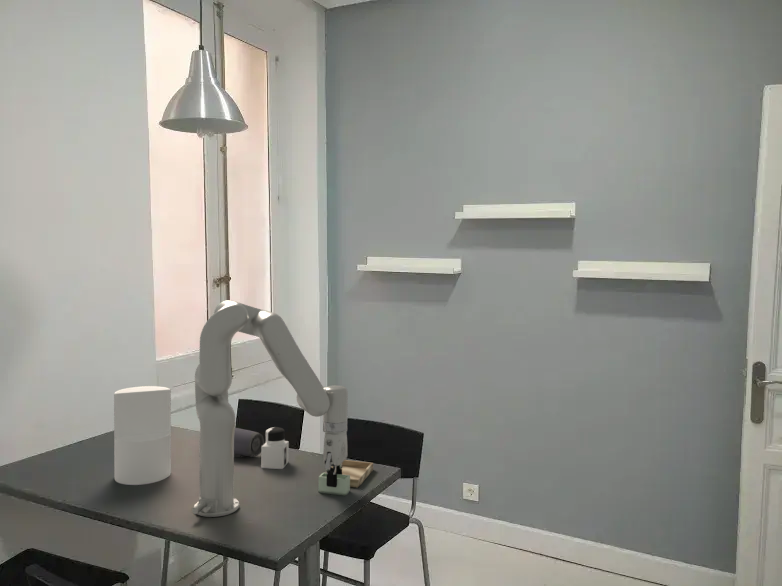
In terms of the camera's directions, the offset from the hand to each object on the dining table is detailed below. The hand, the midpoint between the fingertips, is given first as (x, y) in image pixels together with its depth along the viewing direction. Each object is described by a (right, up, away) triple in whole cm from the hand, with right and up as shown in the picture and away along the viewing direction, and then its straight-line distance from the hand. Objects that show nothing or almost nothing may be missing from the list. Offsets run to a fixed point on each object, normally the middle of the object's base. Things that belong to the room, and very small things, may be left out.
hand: (334, 483), depth 190 cm
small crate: (0, -3, 0) cm, 3 cm away
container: (-23, -1, +23) cm, 33 cm away
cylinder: (-64, -1, +11) cm, 65 cm away
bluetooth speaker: (-41, 0, +34) cm, 53 cm away
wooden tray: (+3, -2, +14) cm, 14 cm away
